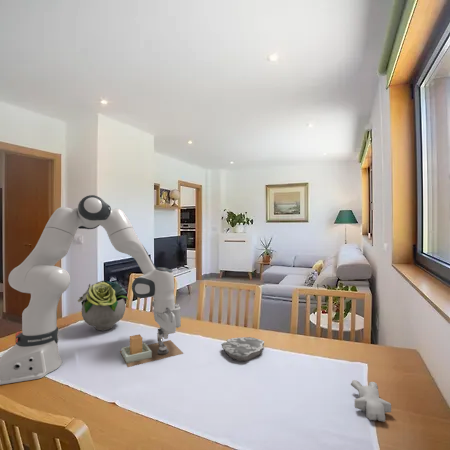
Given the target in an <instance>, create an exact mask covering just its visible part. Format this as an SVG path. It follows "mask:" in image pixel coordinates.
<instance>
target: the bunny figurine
mask: <svg viewBox="0 0 450 450" xmlns="http://www.w3.org/2000/svg"><path fill="white" fill-rule="evenodd" d="M350 386H351V387H352V388H354V389H355V390H356V391H357V392H358V397H357V398H355V399H354V408H355V409H357V410H361V411H363V412H365V413H366V415H365V416H366V418H367V419H368V420H370V421H379V422H386V415H385V414H387V413H392V404H391V402H389V401H387V400H384V399H383V398H381V397H380V394H379V386H378V385H377V382H374V381H370V382H368V385H362V384H361V382H360V381H358V380H357V379H352V381H351V382H350Z"/></svg>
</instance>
